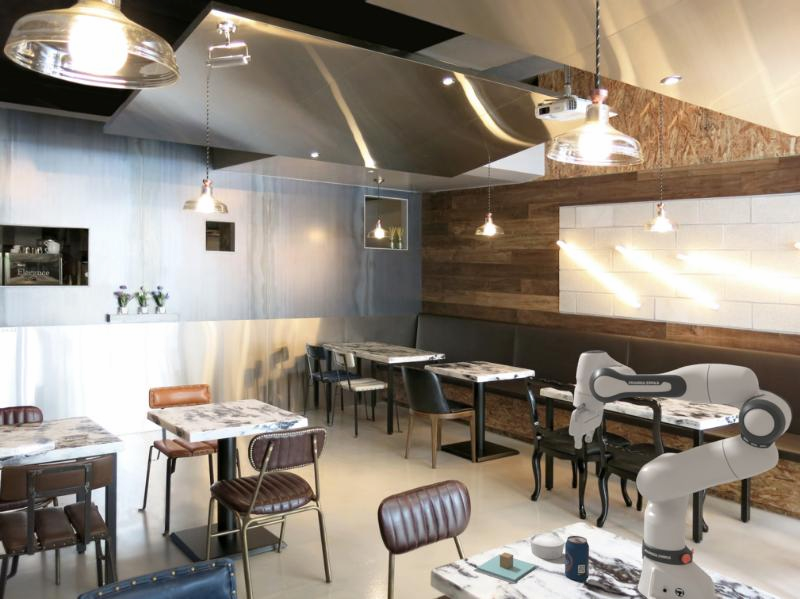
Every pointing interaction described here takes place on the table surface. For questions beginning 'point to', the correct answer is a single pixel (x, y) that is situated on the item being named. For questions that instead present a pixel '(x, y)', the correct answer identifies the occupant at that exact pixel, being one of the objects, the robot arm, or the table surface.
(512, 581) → the mat
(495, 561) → the cover sheet
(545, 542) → the ramekin
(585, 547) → the soda can
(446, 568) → the table surface
